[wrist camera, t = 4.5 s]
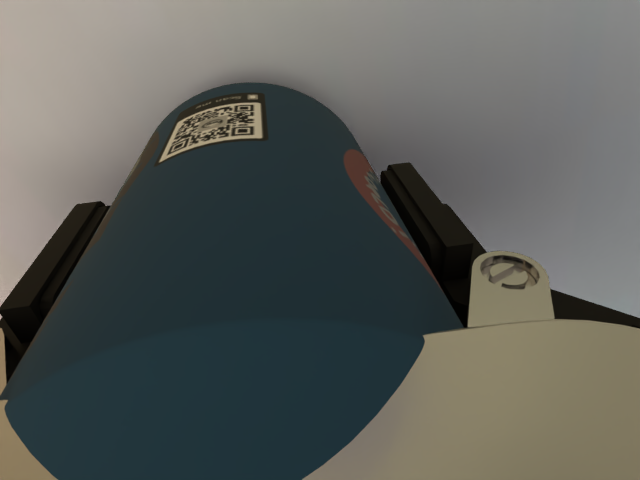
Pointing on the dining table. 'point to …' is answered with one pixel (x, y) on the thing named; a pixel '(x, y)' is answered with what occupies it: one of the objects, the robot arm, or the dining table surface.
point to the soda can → (230, 304)
